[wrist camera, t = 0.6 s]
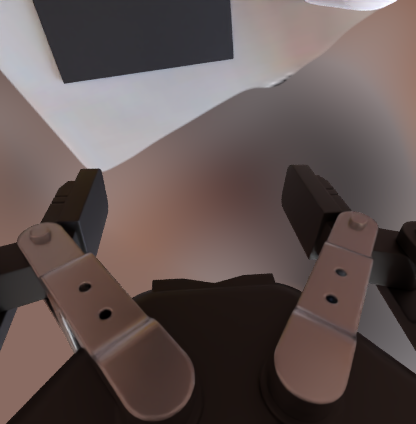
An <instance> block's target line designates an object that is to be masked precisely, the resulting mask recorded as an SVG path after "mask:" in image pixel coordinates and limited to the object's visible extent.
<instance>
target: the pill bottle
mask: <svg viewBox="0 0 416 424" xmlns="http://www.w3.org/2000/svg"><path fill="white" fill-rule="evenodd" d="M304 1H306V2H308V3H311V4H315V5H322V6H329V7H337V8H344V9H352V10H359V11H372V10H377V9H380V8H383V7H385V6H387V5H389V4H391V3H393V2H395V1H396V0H304Z"/></svg>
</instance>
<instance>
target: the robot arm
mask: <svg viewBox="0 0 416 424" xmlns="http://www.w3.org/2000/svg"><path fill="white" fill-rule="evenodd" d="M282 207H283V209H284V211H285V213H286V215H287V217H288V219H289V221H290V223H291V225H292V227H293V229H294V231H295V233H296V235H297V237H298V239H299V241H300V243H301V245H302V247H303V249H304V251H305V253H306V255H307V257H308V259H309V260H313V259H317V261H316V263H315V265H314V267H313V270H312V272H311V274H310V276H309V278H308V281H307V283H306V285H305V287H304V289H303V292H301V291H299V290H297V289H295V288H293V287H290V286H288V285H284V284H280V283H275V280H274V277H273V274H254V275H242V276H239V277H235V278H232V279H228V280H224V281H221V282H217V283H210V282H203V281H196V280H189V279H166V280H153V282H152V290H149V291H146V292H143V293H141V294H139V295H137V296H135V297H133V298H131V297H130V296H129V294H128V293H127V292H126V291H125V290H124V289H123V288H122V286H121V285H120V284H119V283H118V282H117V281H116V279H115V278H114V277H113V276H112V275H111V274H110V273H109V272H108V271H107V269H106V268H105V267H104V266H103V265H102V263H101V262H100V261H99V260H98V259H97V258H96V255H97V251H98V248H99V244H100V240H101V237H102V233H103V229H104V225H105V222H106V218H107V214H108V200H107V195H106V191H105V185H104V180H103V175H102V172H101V169H81V170H80V172H79V174H78V175H77V178H76V180H75V181H68V182H67V183H65V184H64V185H63V186H61V187H60V188H59V190H58V191H57V193H56V195H55V198H54V199H53V201H52V204H50V206H49V208H48V210H47V212H46V214H45V216H44V218H43V219H42V221H41V223H40V224H36V225H33V226H31V227H29V228H27V229H26V230H24V231H23V232H22V233H21V234H20V235H19V237H18V239H17V242H16V243H13V244H9V245H5V246H1V247H0V350H1V348H2V345H3V343H4V340H5V338H6V335H7V333H8V330H9V328H10V325H11V322H12V320H13V317H14V315H15V312H16V310H17V307H20V306H23V305H26V304H30V303H33V302H36V301H39V300H42V299H43V300H44V302H45V303H46V305H47V307H48V309H49V310H50V312H51V314H52V315H53V317H54V319H55V320H56V322H57V324H58V325H59V327H60V328H61V330H62V332H63V334H64V335H65V337H66V339H67V341H68V343H69V345H70V347H71V349H72V350H73V352H74V354H73V356H72V357H71V358H70V359H69V360H68V361H67V362H66V363H65V364H64V365H63V366H62V367H61V368H60V369H59V370H58V371H57V372H56V373H55V374H54V375H53V376H52V377H51V378H50V379H49V380H48V381H47V382H46V383H45V385H43V386H42V387H41V388H40V389H39V390H38V391H37V392H36V394H34V395H33V396H32V398H31V399H30V400H29V401H28V402H27V403H26V404H25V405H24V406H23V407H22V408H21V409H20V410H19V411H18V412H17V413H16V414H15V415H14V416H13V417H12V418H11V419H10V420H9V421H8V422H7V423H6V424H416V374H415V373H414V372H412V371H411V370H409V369H408V368H407V367H405V366H404V365H402V364H401V363H400V362H398V361H397V360H395V359H394V358H393V357H392V356H390V355H389V354H387V353H386V352H385V351H383V350H382V349H380V348H379V347H378V346H376V345H375V344H374V343H372V342H371V341H370V340H368V339H367V338H365V337H364V336H363V335H361V334H360V333H359V332H357V329H358V325H359V320H360V316H361V312H362V308H363V304H364V299H365V295H366V291H367V287H368V283H371V284H376V286H377V288H378V290H379V291H380V293H381V295H382V296H383V298H384V299H385V301H386V303H387V304H388V306H389V308H390V309H391V311H392V312H393V314H394V316H395V318H396V319H397V321H398V323H399V324H400V326H401V327H402V329H403V331H404V332H405V334H406V336H407V337H408V339H409V341H410V342H411V344H412V345H413V347H414V349H415V350H416V221H410V222H406V223H404V224H403V226H402V228H401V230H400V231H399V232H398V231H392V230H386V229H380V228H378V225H377V223H376V222H375V221H374V220H373V219H372V218H370V217H369V216H367V215H365V214H362V213H359V212H354V211H351V209H350V208H349V207H348V206H347V204H346V203H345V202H344V201H343V199H342V198H341V197H340V196H339V195H338V193H337V192H336V191H335V190H334V188H333V187H332V186H331V185H330V183H329V182H328V181H327V180H325V179H324V178H322V177H320V176H319V175H315V174H314V172H313V171H312V170H311V169H310V167H309V166H308V165H290V166H289V167H288V169H287V173H286V178H285V183H284V187H283V192H282Z"/></svg>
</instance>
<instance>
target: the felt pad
mask: <svg viewBox="0 0 416 424" xmlns="http://www.w3.org/2000/svg"><path fill="white" fill-rule="evenodd" d="M33 3H34V5H35V8H36V11H37V13H38V16H39V19H40V21H41V24H42V27H43V29H44V32H45V35H46V37H47V40H48V42H49V45H50V48H51V50H52V53H53V56H54V58H55V61H56V64H57V66H58V69H59V72H60V74H61V77H62V80H63V82H64V84H65V83H72V82H78V81H85V80H92V79H99V78H106V77H112V76H119V75H126V74H133V73H139V72H146V71H153V70H160V69H167V68H173V67H180V66H187V65H194V64H200V63H207V62H214V61H221V60H228V59H233V41H232V24H231V8H230V0H33Z"/></svg>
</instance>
